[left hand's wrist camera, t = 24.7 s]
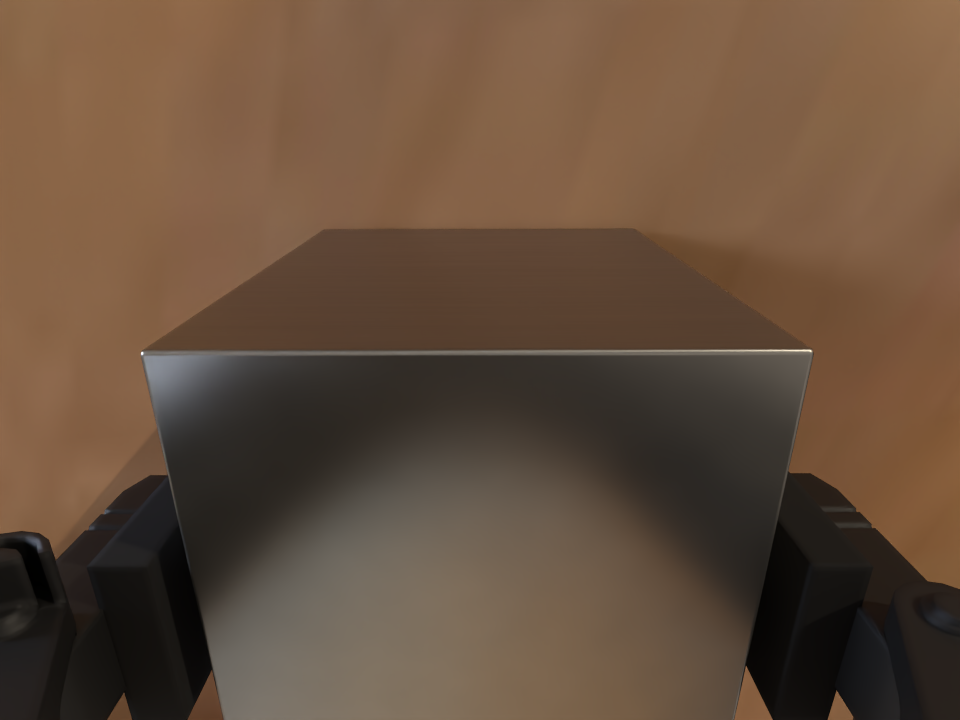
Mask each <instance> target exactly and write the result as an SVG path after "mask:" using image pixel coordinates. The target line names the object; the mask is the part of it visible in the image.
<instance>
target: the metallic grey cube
mask: <svg viewBox="0 0 960 720" xmlns="http://www.w3.org/2000/svg"><path fill="white" fill-rule="evenodd" d="M141 359H142V363H143V367H144V372H145V376H146V381H147V385H148V389H149V394H150V398H151V403H152V407H153V411H154V416H155V420H156V425H157V429H158V433H159V438H160V442H161V447H162V451H163V455H164V460H165V464H166V469H167V473H168V477H169V482H170V486H171V491H172V495H173V500H174V504H175V508H176V513H177V517H178V522H179V526H180V530H181V535H182V539H183V544H184V548H185V552H186V557H187V561H188V566H189V570H190V574H191V579H192V583H193V588H194V592H195V596H196V601H197V605H198V610H199V614H200V618H201V623H202V627H203V632H204V636H205V640H206V645H207V649H208V654H209V658H210V662H211V667H212V671H213V676H214V680H215V684H216V689H217V693H218V698H219V702H220V706H221V711H222V715H223V720H734V718H735V713H736V709H737V704H738V700H739V695H740V690H741V686H742V681H743V677H744V672H745V667H746V663H747V658H748V654H749V649H750V644H751V640H752V635H753V631H754V626H755V621H756V617H757V612H758V608H759V603H760V598H761V594H762V589H763V585H764V580H765V575H766V571H767V566H768V562H769V557H770V552H771V548H772V543H773V539H774V534H775V529H776V525H777V520H778V516H779V511H780V506H781V502H782V497H783V493H784V488H785V483H786V479H787V474H788V470H789V465H790V460H791V456H792V451H793V447H794V442H795V437H796V433H797V428H798V424H799V419H800V414H801V410H802V405H803V401H804V396H805V391H806V387H807V382H808V378H809V373H810V368H811V364H812V359H813V350H812V349H811V348H810V347H808V346H807V345H805V344H804V343H802V342H801V341H799V340H798V339H797V338H795V337H794V336H792V335H791V334H789V333H788V332H786V331H785V330H783V329H782V328H780V327H779V326H777V325H776V324H774V323H773V322H771V321H770V320H768V319H767V318H765V317H764V316H763V315H761V314H760V313H758V312H757V311H755V310H754V309H752V308H751V307H749V306H748V305H746V304H745V303H743V302H742V301H740V300H739V299H737V298H736V297H734V296H733V295H731V294H730V293H728V292H727V291H726V290H724V289H723V288H721V287H720V286H718V285H717V284H715V283H714V282H712V281H711V280H709V279H708V278H706V277H705V276H703V275H702V274H700V273H699V272H697V271H696V270H694V269H693V268H691V267H690V266H689V265H687V264H686V263H684V262H683V261H681V260H680V259H678V258H677V257H675V256H674V255H672V254H671V253H669V252H668V251H666V250H665V249H663V248H662V247H660V246H659V245H657V244H656V243H654V242H653V241H652V240H650V239H649V238H647V237H646V236H644V235H643V234H641V233H640V232H638V231H637V230H635V229H371V230H323V231H321V232H320V233H318V234H316V235H315V236H313V237H312V238H310V239H309V240H307V241H306V242H304V243H303V244H301V245H300V246H298V247H297V248H295V249H294V250H292V251H291V252H289V253H288V254H286V255H285V256H283V257H282V258H280V259H279V260H277V261H276V262H274V263H273V264H271V265H270V266H268V267H267V268H265V269H264V270H262V271H261V272H259V273H258V274H256V275H255V276H253V277H252V278H250V279H249V280H247V281H246V282H244V283H243V284H241V285H240V286H238V287H237V288H235V289H234V290H232V291H231V292H229V293H228V294H226V295H225V296H223V297H222V298H220V299H219V300H217V301H216V302H214V303H213V304H211V305H210V306H208V307H207V308H205V309H204V310H202V311H201V312H199V313H198V314H196V315H195V316H193V317H192V318H190V319H189V320H187V321H186V322H184V323H183V324H181V325H180V326H178V327H177V328H175V329H174V330H172V331H171V332H169V333H168V334H166V335H165V336H163V337H162V338H160V339H159V340H157V341H156V342H154V343H153V344H151V345H150V346H148V347H147V348H145V349H144V350H142V352H141Z"/></svg>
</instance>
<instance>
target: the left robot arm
mask: <svg viewBox="0 0 960 720" xmlns="http://www.w3.org/2000/svg"><path fill="white" fill-rule="evenodd" d="M746 666H747V668H748V670H749V672H750V674H751V676H752V678H753V680H754V682H755V684H756V686H757V688H758V690H759V693H760V695H761V697H762V699H763V701H764V703H765V705H766V707H767V709H768V711H769V713H770V715H771V717H772V719H773V720H828V716H829V713H830V710H831V706H832V703H833V700H834V696H835V693H836V690H837V691H838V693H839V695H840V696H841V698H842V699H843V701H844V702H845V704H846V706H847V707H848V709H849V710H850V712H851V714H852V715H853V717H854V718H853V720H960V589H957V588H954V587H951V586H948V585H945V584H942V583H935V582H928V581H927V580H926V579H925V578H924V577H923V576H922V575H921V574H920V573H919V572H918V571H917V570H916V569H915V568H914V567H913V566H912V565H911V564H910V563H909V562H908V561H907V560H906V559H905V558H904V557H903V556H902V555H901V554H900V553H899V552H898V551H897V550H896V549H895V548H894V547H893V546H892V545H891V544H890V543H889V542H888V541H887V540H886V539H885V538H884V537H883V535H882V534H881V533H880V532H879V531H878V530H877V529H876V528H872V527H871V523H870V522H869V521H868V520H867V519H866V518H865V517H864V516H863V515H862V514H861V513H860V512H856V508H855V507H854V506H853V505H852V504H851V503H850V502H849V501H848V500H847V499H846V498H845V497H844V496H843V495H842V494H841V493H840V492H839V491H838V490H837V489H836V488H834V487H832V486H831V485H829V484H827V483H826V482H824V481H822V480H821V479H819V478H817V477H815V476H814V475H812V474H810V473H789V471H788V474H787V479H786V483H785V488H784V493H783V497H782V502H781V506H780V511H779V516H778V520H777V525H776V529H775V534H774V539H773V543H772V548H771V552H770V557H769V562H768V566H767V571H766V575H765V580H764V585H763V589H762V594H761V598H760V603H759V608H758V612H757V617H756V621H755V626H754V631H753V635H752V640H751V644H750V649H749V654H748V658H747V663H746ZM211 670H212V667H211V662H210V658H209V654H208V649H207V645H206V640H205V636H204V632H203V627H202V623H201V618H200V614H199V610H198V605H197V601H196V596H195V592H194V588H193V583H192V579H191V574H190V570H189V566H188V561H187V557H186V552H185V548H184V544H183V539H182V535H181V530H180V526H179V522H178V517H177V513H176V508H175V504H174V500H173V495H172V491H171V486H170V482H169V477H168V475H150V476H148V477H147V478H145V479H143V480H142V481H140V482H138V483H137V484H135V485H133V486H132V487H130V488H128V489H127V490H125V491H123V492H122V493H121V494H120V495H119V496H118V497H117V498H116V499H115V500H114V501H113V502H112V503H111V505H110V506H109V507H108V508H107V509H106V510H105V513H104V514H101V515H100V516H99V517H98V518H97V519H96V520H95V521H94V522H93V523H92V524H91V525H90V526H89V530H85V531H84V532H83V533H82V534H81V535H80V536H79V537H78V538H77V539H76V540H75V541H74V542H73V544H72V545H71V546H70V547H69V548H68V549H67V550H66V551H65V552H64V553H63V554H62V555H61V556H60V557H59V558H58V559H57V560H55V557H54V554H53V551H52V548H51V545H50V542H49V540H48V539H47V538H45V537H44V536H42V535H41V534H40V533H33V532H25V531H19V532H11V533H4V534H0V720H107V718H108V717H109V715H110V714H111V712H112V711H113V709H114V707H115V706H116V704H117V703H118V701H119V699H120V698H121V696H122V695H123V693H125V696H126V700H127V703H128V706H129V710H130V713H131V716H132V720H187V719H188V717H189V715H190V713H191V711H192V709H193V707H194V705H195V703H196V701H197V699H198V697H199V695H200V693H201V690H202V688H203V686H204V684H205V682H206V680H207V678H208V676H209V674H210V672H211Z"/></svg>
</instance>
